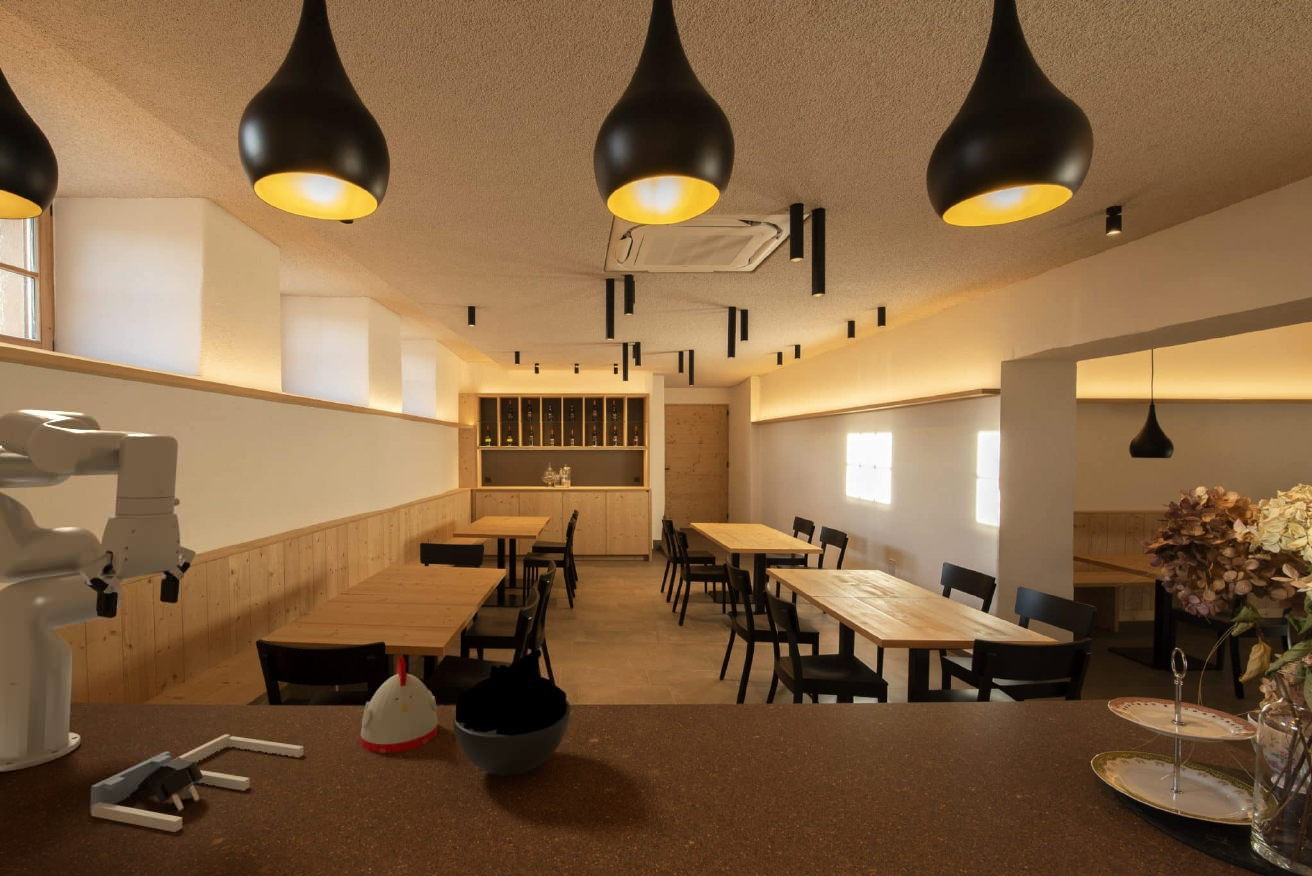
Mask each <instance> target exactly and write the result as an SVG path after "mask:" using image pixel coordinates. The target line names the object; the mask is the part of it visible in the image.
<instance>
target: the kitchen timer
mask: <svg viewBox="0 0 1312 876" xmlns="http://www.w3.org/2000/svg"><path fill="white" fill-rule="evenodd" d="M395 665H396V667H395V670H396V674H394V675H393V676H391V677H389V678H387V680H386V681H384V682H383V683H382V684H381V685H380V686H379V688H378V689H377V690H376V691H375V693H374V695H372V698H371V699H370V701H366V703H365V707H364V710H363V716H362V719H361V729H360V737H359V738H360V739H359V740H360V741H359V742H360V743H359V744H360V746H361V747H362V748H363V749H364V748H365V749H364V750H366V749H367V750H366V751H369V752H372V751H373V752H372V753H378V754H380V753H381V754H388V753H389V754H391V753H399V752H398V751H400V752H403V751H408V749H409V750H413V749H415V748H418V747H420V746H422V745H424V744H426V743H429V742H430V741H431V740H432V739H433V738H435V737H436V735H437V734H438V731H439V730H438V729H439V727H438V726H439V725H438V724H439V723H438V715H437V714H438V713H437V711H438V709H437V702H436V697H435V695H433V693H432V691H431V690H429V689H428V687H427V686H426V685H425V684H424V683H423V682H422V681H421V680H420V679H419V678H417V677H416V676H414V675H413V674H409V673H408V672H407V671H406V669H407V663H406V662H405V658H404V656H398V660H397V663H395ZM414 747H415V748H414Z"/></svg>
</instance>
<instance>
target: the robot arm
mask: <svg viewBox="0 0 1312 876" xmlns="http://www.w3.org/2000/svg"><path fill="white" fill-rule="evenodd" d="M178 444H179V443H178V440H177V439H176V438H175V437H174V436H172V435H167V434H157V433H156V434H151V433H150V434H149V433H146V432H139V431H119V430H118V431H117V430H102V429H101V426H100V424H99V422H97V420H96V419H94V418H93V417H92V416H90V415H88V414H85V413H82V412H72V411H56V410H55V411H54V410H38V409H20V410H15V411H10V412H8V413H6V414H3V415H2V416H0V489H21V488H24V489H25V488H45V487H52V486H57V485H60V484H62V483H64V482H65V481H67V480H68V479H70V477H71V476H73V477H74V476H75V477H76V476H77V477H78V476H107V475H108V476H111V475H114V476H117V479H116V481H117V482H116V483H117V484H116V494H115V496H116V497H115V511H114V516H109V517H108V519H107V521H106V522H107V523H106V524H105V528H104V531H103V534H102V539H101V541H100V540H99V538H98V537H97V536H96V534H94V533H93V532H91V531H90V530H89V529H87V528H84V527H78V526H64V527H63V526H62V527H52V528H47V527H46V528H45V527H40V526H39V525H38V524H37V523H36V521H35V519H34V518H33V516H32V513H31V511H30V510H29V509H28V508H27V506H25V505H24V504H22V502H20V501H19V500H18V499H16V498H13V497H12V496H10V495H8V494H5V493H4V492H1V491H0V583H1V584H9V585H7V586H5V587H3V588H2V589H0V772H10V771H18V770H22V769H27V768H31V767H35V766H38V765H39V766H40V765H41V764H45V763H48V762H51V761H53V760H56V759H59V758H61V757H63V756H65V755H68V754H69V753H71V752H73V751H74V750H75V749H77V748H79V747H78V746H80V744H81V735H79V734H78V733H75V732H70V722H71V721H70V719H71V718H70V717H71V701H72V700H71V695H72V694H71V693H72V675H73V673H72V672H73V671H72V670H73V652H72V650H73V649H72V648H71V645H70V644H69V642H67V640H66V639H64V638H63V637H61V636H60V635H59V633H58V632H57V629H59V628H64V627H67V626H71V625H76V624H81V623H84V622H89V621H94V620H99V619H102V618H108V619H113V618H115V617H117V614H118V608H119V607H120V606H121V604H122V600H123V590H122V585H121V583H122V581H124V580H125V579H132V578H138V577H143V576H144V577H146V576H150V575H155V574H160V573H161V574H162V576H164V578H161V581H160V594H159V595H160V596H159V601H160V602H162V603H169V604H175V603H176V604H177V603H178V602H179V593H180V592H179V591H180V580H182V579H184V577H185V573H186V572H187V571H188V570H189V569H190V567H191V563H192V562H193V559H194V558H195V556H196V554H197V553H196V551H194V550H192V549H189V548H186V547H184V546H181V534H180V533H181V532H180V524H179V519H178V514H177V513H175V507H178V506H179V505H180V502H181V501H180V498H178V497H177V498H175V497H176V496H175V495H176V483H177V481H176V480H177V466H178V465H177V464H178V449H179V448H178V447H179V445H178Z"/></svg>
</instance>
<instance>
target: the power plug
mask: <svg viewBox="0 0 1312 876" xmlns="http://www.w3.org/2000/svg"><path fill="white" fill-rule="evenodd" d="M177 757H178V758H177ZM177 757H176V759H175V758H174V760H173V759H171V760H172V761H170V762H168V763H166V764H163V765H162V766H160V767H159V768H158V769H156V770H155V771H153V772H152V773H151V774H149V776H147V777H146V778H145V779H144V780H143V781H142V782H141V783H140V784H139V785H138V789H137V790H135V791H134V792H132V793H131V794H130V796H129V797H130V798H133V797H136V796H137V795H138V794H140V793H142V792H145V791H146V790H148V789H150V788H152V787H153V788H152V789H153V791H154V794H155V796H156V798H157V800H158V802H159V804H163V803H165V802H166V801H169V800H170V799H172V801H173V804H174V806H175V808H176V809H177V812H181V811H184V808H185V807H184V805H183V802H182V800H181V798H180V796H179V794H181V793H182V792H184V791H186V790H187V789H188V792H189V794H190V797H192V800H193V802H194V803H198V801H199V802H200V799H201V798H200V796H199V793H198V791H197V789H196V788H195V784H198V783H197V782H198V781H200V780H201V779H202V778H203V775H202V773H201V771H200V770H201V769H200V767H199V765H198V764H197V763H198V762H196V763H195V762H189V761H185V760H182V759H181V758H180V756H177Z"/></svg>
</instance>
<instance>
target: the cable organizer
mask: <svg viewBox="0 0 1312 876" xmlns="http://www.w3.org/2000/svg"><path fill="white" fill-rule="evenodd" d="M225 747H226V748H232V747H236V748H235V749H238V748H240V749H239V750H245V749H247V751H252V750H253V751H252V752H258V751H262V752H261V753H265V752H267V753H266V754H272V753H277V754H276V755H279V754H281V755H280V756H285V755H288V757H292V756H294V757H293V758H300V757H302V756H303V755H304V746H302V745H296V744H289V743H283V742H282V743H281V742H274V741H267V740H261V739H254V738H246V737H240V736H234V735H232V736H231V734H226V733H225V734H223V735H221V736H219V737H217V738H215V739H212V740H211V741H208V742H206V743H205V744H202V745H200V746H198V747H195V748H194V749H192V750H190V751H188V752H186V753H184V754H181V755H180V756H177V757H176V758H178V757H180V758H181V759H182V760H185V761H189V762H195V763H198V762H200V761H202V760H204V759H206V758H208V757H210V756H212V755H214V754H216V753H217V752H216V751H218V752H220V751H221V750H220V749H222V750H224V749H225ZM223 748H224V749H223ZM248 749H250V750H248ZM215 752H216V753H215ZM213 753H214V754H213ZM211 754H212V755H211ZM209 755H210V756H209ZM207 756H208V757H207ZM176 758H174V759H176ZM203 758H204V759H203ZM174 759H172V755H171V752H170V751H163V752H162V753H159V754H157V755H155V756H153V757H150V758H149V759H147V760H144V761H142V762H140V763H137V764H135V765H134V766H131V767H130V768H127V769H125V770H122V771H121V772H119V773H117V774H114V775H112V776H110V777H108V778H106V779H103V780H101V781H99V782H97V783H95V784H92V785H91V787H90V806H89V807H90V808H89V809H90V811H89V812H90V814H91V815H90V816H91V817H94V818H95V817H96V818H100V819H107V820H111V821H116V822H120V823H121V822H122V823H127V824H132V825H137V826H143V827H148V828H152V829H157V830H158V829H159V830H162V831H168V832H173V833H176V832H178V831H179V830H181V829H183V816H182V817H181V816H177V815H171V814H166V813H159V812H154V811H149V810H143V809H141V808H140V809H138V808H133V807H128V806H122V805H118V803H120V802H122V801H123V800H126V799H127V797H128V798H129V797H130V794H131V793H132V792H134V791H135V790H137V789H138V785H139V784H140V783H141V782H142V781H143V780H144V779H145V778H146V777H147V776H149V774H151V773H152V772H153V771H155V770H156V769H158V768H159V767H160V766H162V765H163V764H166V763H168V762H170V761H172V760H174ZM199 760H200V761H199ZM200 771H201V773H202V775H203V778H202V779H201V780H200V781H198V783H197V784H201V783H205V784H204V785H207V784H208V785H209V786H213V785H215V787H219V788H224V789H232V790H236V791H237V790H238V791H242V792H243V791H246V790H247V789H249V788H250V780H251V779H250V777H245V776H239V775H233V774H228V773H227V774H226V773H221V772H214V771H207V770H201V769H200Z"/></svg>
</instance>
